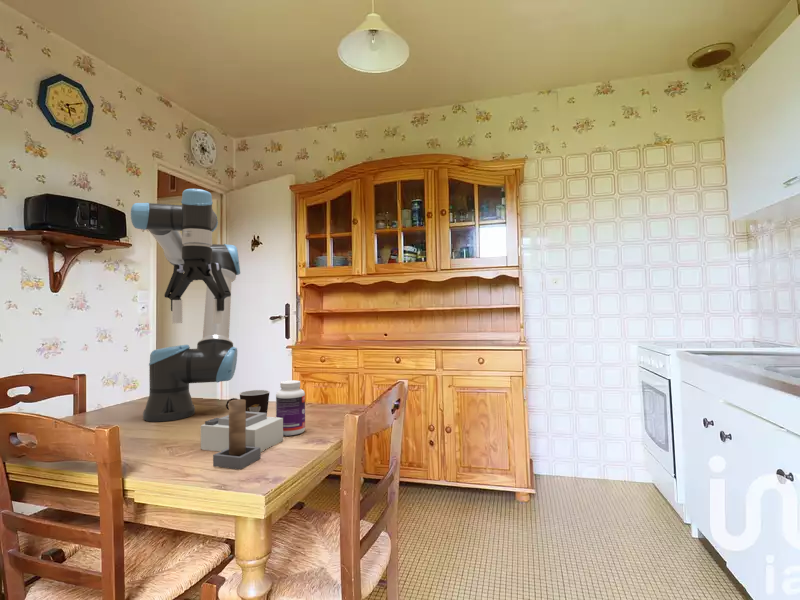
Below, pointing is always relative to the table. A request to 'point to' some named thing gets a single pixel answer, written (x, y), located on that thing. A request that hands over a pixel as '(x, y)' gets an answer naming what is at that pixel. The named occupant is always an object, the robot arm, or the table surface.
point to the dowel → (237, 427)
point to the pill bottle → (291, 407)
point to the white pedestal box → (257, 432)
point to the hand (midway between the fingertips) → (197, 323)
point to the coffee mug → (254, 400)
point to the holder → (236, 458)
